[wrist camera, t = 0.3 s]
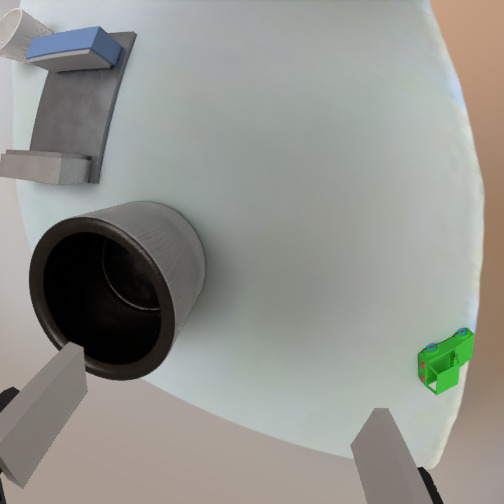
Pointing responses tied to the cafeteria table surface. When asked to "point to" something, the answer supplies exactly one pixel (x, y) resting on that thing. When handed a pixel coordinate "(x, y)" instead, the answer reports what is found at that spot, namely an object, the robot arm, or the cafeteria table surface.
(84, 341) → the planter
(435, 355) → the toy car
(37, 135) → the vise bed
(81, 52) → the sliding jaw
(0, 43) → the white cup
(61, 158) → the fixed jaw
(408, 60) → the cafeteria table surface
